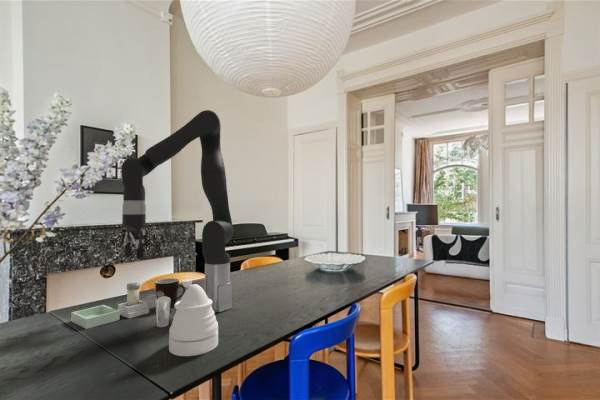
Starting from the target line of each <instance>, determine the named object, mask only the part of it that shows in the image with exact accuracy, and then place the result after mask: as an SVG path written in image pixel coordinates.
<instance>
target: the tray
mask: <svg viewBox="0 0 600 400" xmlns="http://www.w3.org/2000/svg"><path fill="white" fill-rule="evenodd" d="M120 317H121V315H120V311H119V310H117V309H115V308H114V307H110V306H108V305H105V304H101V305H97V306H93V307H88V308H84V309H81V310H79V309H78V310H76V311H71V315H70V318H71V320H70V322H71V323H73V324H76V325H78V326H80V327H81V328H84V329H86V330H87V329H91V328H95V327H98V326H102V325H105V324H110V323H113V322H116V321H121V320H120Z"/></svg>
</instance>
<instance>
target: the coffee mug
mask: <svg viewBox="0 0 600 400" xmlns="http://www.w3.org/2000/svg"><path fill="white" fill-rule="evenodd" d="M154 285H155V293H156V300H157V299H158V298H160V297H162V296H167V297H169V298H170V299H171V302H170V310H172V309H175V307H174V305H175V303H176V302H178V300H179V299H181V298H182V296H183V294H184V293H185V291H186V287H184V286H183V284H180V279H179V278H175V277H172V278H171V277H170V278H163V279H162V278H161V279H158V280H156V281H154ZM179 288H182V290H183V292H181V293H182V294H181V295H179V296H178V293H179Z"/></svg>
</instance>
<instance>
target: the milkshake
mask: <svg viewBox="0 0 600 400" xmlns="http://www.w3.org/2000/svg"><path fill="white" fill-rule="evenodd" d="M152 297H153V299H154V301H155V302H154V303H155V313H156V315H155V316H156V326H157V327H158V328H165V327H168V326H169V321H170V311H171V309H170V302H171V299H170V298H169V297H167V296H162V297H160V298H158V299H157V298H156V299H155V296H152Z"/></svg>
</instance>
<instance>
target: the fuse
mask: <svg viewBox="0 0 600 400" xmlns="http://www.w3.org/2000/svg"><path fill="white" fill-rule="evenodd" d="M140 286H141V284H140V282H129V283H126V293H127V294H126V300H127V301H126V302H127V306H129V307H130V306H134V305H138V304H139V300H140V288H141V287H140Z"/></svg>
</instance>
